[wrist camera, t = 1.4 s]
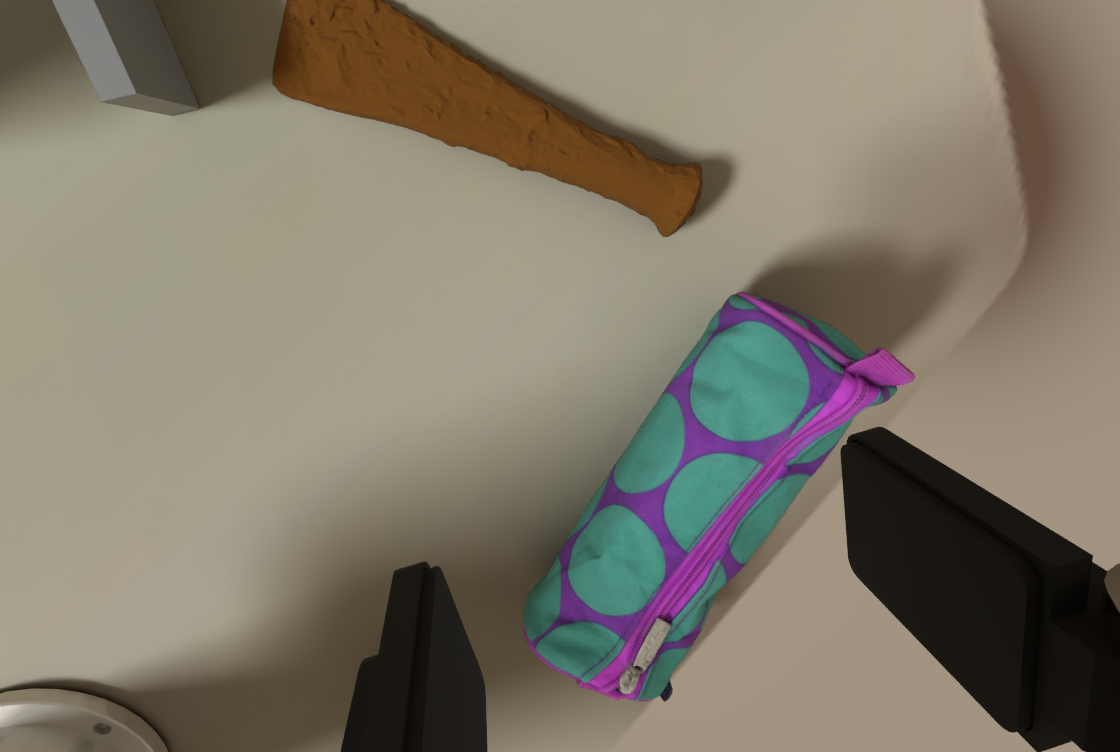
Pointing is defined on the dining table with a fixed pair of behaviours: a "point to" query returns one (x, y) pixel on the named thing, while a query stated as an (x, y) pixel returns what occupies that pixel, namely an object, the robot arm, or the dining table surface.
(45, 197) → the dining table surface
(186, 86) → the box
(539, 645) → the pencil case
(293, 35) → the primitive tool
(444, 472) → the dining table surface
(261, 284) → the dining table surface
